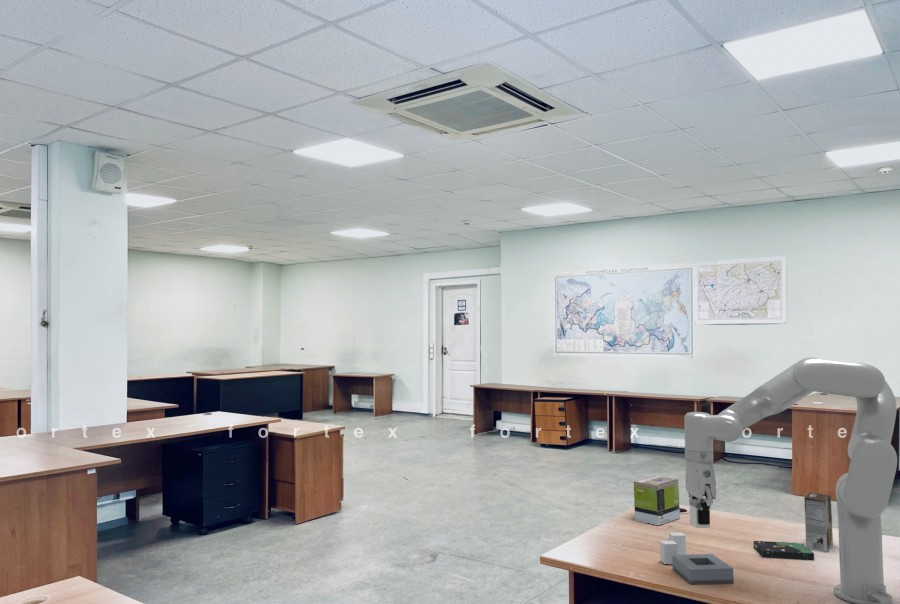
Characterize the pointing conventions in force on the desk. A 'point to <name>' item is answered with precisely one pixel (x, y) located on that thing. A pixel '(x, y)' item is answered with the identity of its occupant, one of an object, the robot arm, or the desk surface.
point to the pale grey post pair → (672, 547)
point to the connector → (695, 514)
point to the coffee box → (818, 522)
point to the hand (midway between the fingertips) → (700, 521)
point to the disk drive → (783, 550)
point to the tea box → (656, 500)
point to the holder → (702, 569)
